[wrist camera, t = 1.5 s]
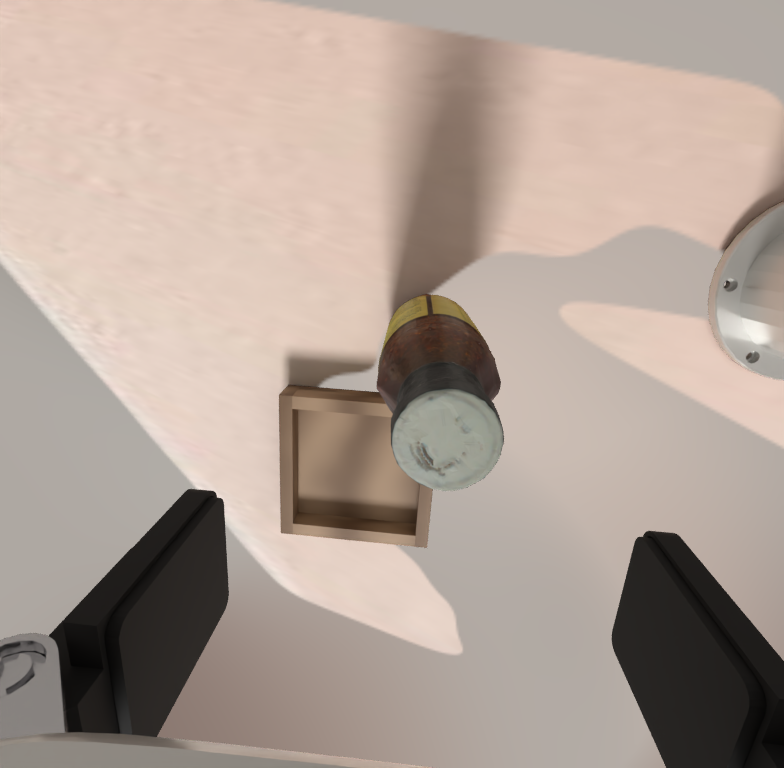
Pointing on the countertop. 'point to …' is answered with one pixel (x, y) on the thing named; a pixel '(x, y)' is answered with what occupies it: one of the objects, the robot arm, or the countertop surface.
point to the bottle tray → (345, 470)
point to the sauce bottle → (440, 394)
